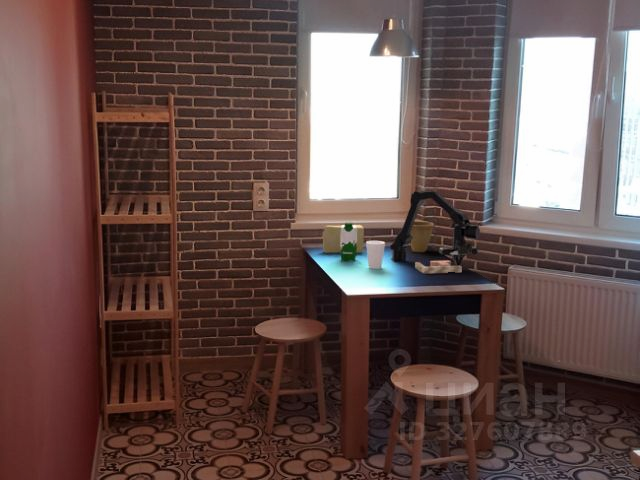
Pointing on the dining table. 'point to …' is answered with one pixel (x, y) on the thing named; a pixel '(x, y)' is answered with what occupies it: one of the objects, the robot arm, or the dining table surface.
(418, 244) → the plant pot
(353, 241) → the milk carton
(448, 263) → the t block
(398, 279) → the dining table surface
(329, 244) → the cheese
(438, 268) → the wooden l block
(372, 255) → the foam cup
